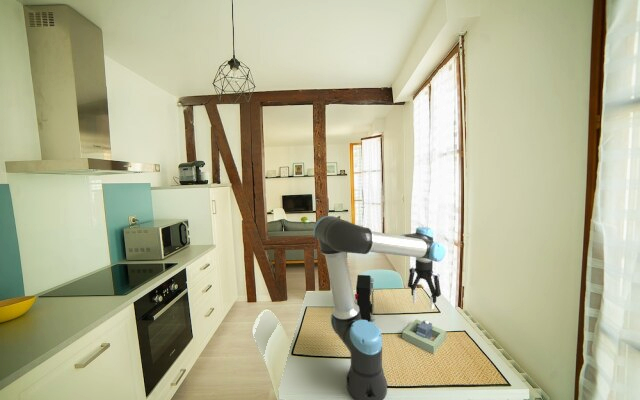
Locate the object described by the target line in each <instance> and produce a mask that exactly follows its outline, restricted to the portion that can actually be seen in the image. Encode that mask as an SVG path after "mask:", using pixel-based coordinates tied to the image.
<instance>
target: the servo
mask: <svg viewBox="0 0 640 400" xmlns="http://www.w3.org/2000/svg"><path fill="white" fill-rule="evenodd" d="M432 326H433V323H432V322H429V321H428V320H422V323H421V324H420V325H418V330H416V332H415V333H416V334H417V335H419V336H422V337H424V338H427V339H429V340H431V339H432V338H433V337H432V329H433V327H432Z"/></svg>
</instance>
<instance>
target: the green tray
mask: <svg viewBox="0 0 640 400" xmlns="http://www.w3.org/2000/svg"><path fill="white" fill-rule="evenodd" d="M422 322H423V320H422V321H421V320H419V319H417V318H416V319H415V320H413V322H411V323H410V324H409V325H408V326H407V327H405V329H403V331H402V334H401V335H402V336H401V337H402V340H404V341H406V342H409V343H410V344H412V345H415V346H416V347H418V348H420V349H423V350H424V351H426V352H428V353H430V354H433V355H434V354H435V353H436V352H437V351H438V349H440V347H441V346H442V344H443V343H444V342H445V341H446V340H447V331H446V330H444V329H441V328H438V327H437V326H434V325H432V327H433V329H432V337H431V338H434V340H431V339H430V340H429V339H427V338H424V337H422V336H419V335H417V334H416V332H415V331H418V325H420V324H421V323H422Z"/></svg>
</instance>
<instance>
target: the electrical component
mask: <svg viewBox="0 0 640 400" xmlns="http://www.w3.org/2000/svg"><path fill="white" fill-rule="evenodd" d="M356 279H357V280H356V287H355V288H356V289H355V290H356V291H355V294H354V301H356V304H357V305H358V306H359V310H360V315H361V319H362V320H367V321H368V322H373V321H375V316H373V315H374V308H375V307H374V305H375V304H374V292H375V289H374V282H375V281H374V278H372V276H371V275H370V274H369V275H366V274H357V276H356Z"/></svg>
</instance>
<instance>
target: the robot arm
mask: <svg viewBox="0 0 640 400" xmlns="http://www.w3.org/2000/svg"><path fill="white" fill-rule="evenodd" d="M313 235H314V237H315V239H316V240H317V241H318V245H319V250H320V253H321V254H322V255H324V256H325V261H326V262H325V263H326V267H327V271H328V272H327V273H328V278H329V282H330V287H331V289H330V290H331V294H332V298H333V305H334V306H333V308H332V312H331V313H332V314H331V316H330V324H331V328H332V329H333V331H334V333H335V334H336V335H337V336H338V338H339V339H340V340H341V341H342V343H343V344H344V345H345V346H346V348H347V350H348V351H349V353H350V367H349V370H348V371H347V375H346V390H347V392H348V393H349V396H351V398H352V399H353V400H384V399H385V398H386V396H387V393H388V384H387V383H388V382H387V379H386V377H385V374H384V372H383V371H384V370H383V337H382V332H381V330H380V328H379V326H377V325H376V324H375V323H374V322H373V321H371V322H368V321H367V320H362V319H361V315H360V310H359V306H358V305H357V302H355V295H354V293H353V285H352V280H351V273H350V269H349V268H350V267H349V263H348V256H347V253H349V254H358V255H359V254H360V255H368V254H369V253H375V254H385V255H386V254H387V255H394V256H403V257H404V256H405V257H413V258H415V268H414V267H411V268H409V270H408V271H409V276H408V280H407V281H408V283H407V287H408V288H410V289H411V293H410V295H411V296H412V300H413V301H412V303H413V304H416V303H417V302H418V289H417V286H418V284H419V281H420V280H421V279H422V280H424V281H425V282H426V283H427V285H428V288H429V291H430V293H431V295H430V296H429V297H430V300H429V305H430V306H429V309H430V311H432V310H433V309H435V304H436V303H437V298H438V297H440V296H441V294H442V293H441V285H440V274H438V273H434V271H433V268H434V267H433V265H434V263H433V262H438V263H439V262H441V261H442V260H443V259H444V258H445V256H446V247H445V246H444V244H443V243H440V242H437V241H434V230H433V229H432V228H430V227H424V226H423V227H422V226H421V227H420V226H419V227H416V228H415V232H413V233H406V234H403V233H402V234H400V235H397V234H392V233H390V234H389V233H385V232H378V231H372V229H370V228H369V227H365V226H360V225H358V224H355V223H353V222H351V221H348V220H345V219H341V218H338V217H336V216H334V215H326V216H325V215H324V216H321V217H320V218H319V219H318V220H317V221H316V223H314V227H313ZM415 273H416V277H415ZM414 278H415V279H414ZM433 282H434V283H433Z"/></svg>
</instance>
